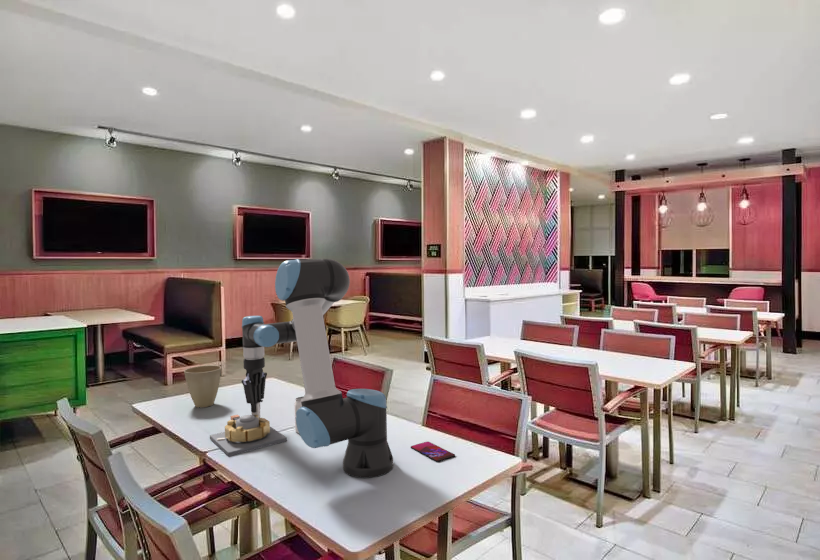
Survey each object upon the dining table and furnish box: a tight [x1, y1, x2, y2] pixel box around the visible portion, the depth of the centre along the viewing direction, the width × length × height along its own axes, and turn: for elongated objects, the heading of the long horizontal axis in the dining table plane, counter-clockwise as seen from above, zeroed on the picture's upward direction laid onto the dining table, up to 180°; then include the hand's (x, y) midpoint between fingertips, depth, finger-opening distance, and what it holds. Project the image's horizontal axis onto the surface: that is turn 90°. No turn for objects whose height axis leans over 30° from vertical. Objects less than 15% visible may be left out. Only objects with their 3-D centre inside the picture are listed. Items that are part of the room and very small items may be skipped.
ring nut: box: [224, 414, 271, 442], centre depth 174 cm, size 21×14×4 cm, turn 38°
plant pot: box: [183, 364, 222, 408], centre depth 213 cm, size 15×15×16 cm
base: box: [209, 414, 288, 457], centre depth 171 cm, size 20×20×8 cm
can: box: [294, 396, 304, 434], centre depth 179 cm, size 6×6×12 cm
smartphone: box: [410, 441, 456, 463], centre depth 158 cm, size 8×1×15 cm
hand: (256, 419), depth 184 cm, fingers closed
